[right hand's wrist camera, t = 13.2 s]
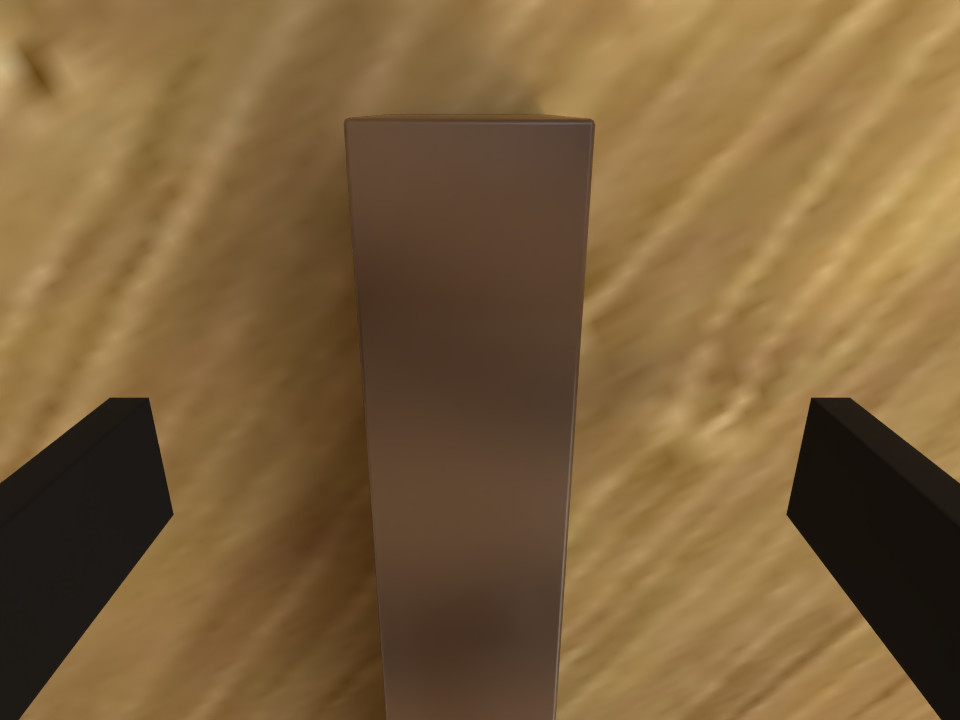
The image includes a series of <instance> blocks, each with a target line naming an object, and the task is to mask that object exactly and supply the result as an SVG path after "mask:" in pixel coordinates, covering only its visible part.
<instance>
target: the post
mask: <svg viewBox="0 0 960 720" xmlns="http://www.w3.org/2000/svg"><path fill="white" fill-rule="evenodd" d="M594 133H595V123H594V120H591V119H586V118H576V117H565V116H554V115H509V114H387V115H376V116H365V117H354V118H348V119H346V120H345V122H344V134H345V148H346V162H347V176H348V190H349V204H350V218H351V232H352V246H353V260H354V274H355V288H356V302H357V316H358V330H359V344H360V359H361V373H362V387H363V401H364V415H365V429H366V443H367V457H368V471H369V485H370V499H371V513H372V527H373V541H374V555H375V569H376V583H377V597H378V611H379V625H380V639H381V653H382V667H383V681H384V696H385V710H386V720H556V705H557V690H558V675H559V660H560V645H561V630H562V615H563V600H564V584H565V569H566V554H567V539H568V524H569V509H570V494H571V479H572V464H573V449H574V434H575V419H576V404H577V389H578V374H579V359H580V344H581V329H582V313H583V298H584V283H585V268H586V253H587V238H588V223H589V208H590V193H591V178H592V163H593V148H594Z"/></svg>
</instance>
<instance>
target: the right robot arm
mask: <svg viewBox="0 0 960 720" xmlns="http://www.w3.org/2000/svg"><path fill="white" fill-rule="evenodd" d="M172 516H173V510H172V505H171V501H170V496H169V491H168V486H167V482H166V477H165V472H164V468H163V463H162V458H161V453H160V449H159V444H158V439H157V435H156V430H155V425H154V420H153V416H152V411H151V406H150V402H149V398H109V399H108V400H106V401H105V402H104V403H103V404H101V405H100V406H99V407H98V408H96V409H95V410H94V411H92V412H91V413H90V414H89V415H87V416H86V417H85V418H83V419H82V420H81V421H80V422H78V423H77V424H76V425H74V426H73V427H72V428H71V429H69V430H68V431H67V432H66V433H64V434H63V435H62V436H60V437H59V438H58V439H57V440H55V441H54V442H53V443H51V444H50V445H49V446H48V447H46V448H45V449H44V450H42V451H41V452H40V453H39V454H37V455H36V456H35V457H34V458H32V459H31V460H30V461H28V462H27V463H26V464H25V465H23V466H22V467H21V468H19V469H18V470H17V471H16V472H14V473H13V474H12V475H10V476H9V477H8V478H7V479H5V480H4V481H3V482H1V483H0V720H19V719H20V717H21V716H22V715H23V713H24V712H25V711H26V709H27V708H28V707H29V705H30V704H31V703H32V701H33V700H34V699H35V697H36V696H37V695H38V693H39V692H40V691H41V689H42V688H43V687H44V685H45V684H46V683H47V681H48V680H49V679H50V678H51V676H52V675H53V674H54V672H55V671H56V670H57V668H58V667H59V666H60V664H61V663H62V662H63V660H64V659H65V658H66V656H67V655H68V654H69V652H70V651H71V650H72V648H73V647H74V646H75V644H76V643H77V642H78V640H79V639H80V638H81V636H82V635H83V634H84V632H85V631H86V630H87V629H88V627H89V626H90V625H91V623H92V622H93V621H94V619H95V618H96V617H97V615H98V614H99V613H100V611H101V610H102V609H103V607H104V606H105V605H106V603H107V602H108V601H109V599H110V598H111V597H112V595H113V594H114V593H115V591H116V590H117V589H118V587H119V586H120V585H121V583H122V582H123V581H124V580H125V578H126V577H127V576H128V574H129V573H130V572H131V570H132V569H133V568H134V566H135V565H136V564H137V562H138V561H139V560H140V558H141V557H142V556H143V554H144V553H145V552H146V550H147V549H148V548H149V546H150V545H151V544H152V542H153V541H154V540H155V538H156V537H157V536H158V534H159V533H160V532H161V531H162V529H163V528H164V527H165V525H166V524H167V523H168V521H169V520H170V519H171V517H172ZM787 516H788V517H789V519H790V520H791V521H792V523H793V524H794V525H795V527H796V528H797V529H798V531H799V532H800V533H801V534H802V536H803V537H804V538H805V540H806V541H807V542H808V544H809V545H810V546H811V548H812V549H813V550H814V552H815V553H816V554H817V556H818V557H819V558H820V560H821V561H822V562H823V564H824V565H825V566H826V568H827V569H828V570H829V572H830V573H831V574H832V576H833V577H834V578H835V580H836V581H837V582H838V583H839V585H840V586H841V587H842V589H843V590H844V591H845V593H846V594H847V595H848V597H849V598H850V599H851V601H852V602H853V603H854V605H855V606H856V607H857V609H858V610H859V611H860V613H861V614H862V615H863V617H864V618H865V619H866V621H867V622H868V623H869V625H870V626H871V627H872V629H873V630H874V631H875V632H876V634H877V635H878V636H879V638H880V639H881V640H882V642H883V643H884V644H885V646H886V647H887V648H888V650H889V651H890V652H891V654H892V655H893V656H894V658H895V659H896V660H897V662H898V663H899V664H900V666H901V667H902V668H903V670H904V671H905V672H906V674H907V675H908V676H909V677H910V679H911V680H912V681H913V683H914V684H915V685H916V687H917V688H918V689H919V691H920V692H921V693H922V695H923V696H924V697H925V699H926V700H927V701H928V703H929V704H930V705H931V707H932V708H933V709H934V711H935V712H936V713H937V715H938V716H939V717H940V719H941V720H960V483H959V482H957V481H956V480H955V479H953V478H952V477H951V476H950V475H948V474H947V473H946V472H944V471H943V470H942V469H941V468H939V467H938V466H937V465H935V464H934V463H933V462H932V461H930V460H929V459H928V458H926V457H925V456H924V455H923V454H921V453H920V452H919V451H918V450H916V449H915V448H914V447H912V446H911V445H910V444H909V443H907V442H906V441H905V440H903V439H902V438H901V437H900V436H898V435H897V434H896V433H894V432H893V431H892V430H891V429H889V428H888V427H887V426H886V425H884V424H883V423H882V422H880V421H879V420H878V419H877V418H875V417H874V416H873V415H871V414H870V413H869V412H868V411H866V410H865V409H864V408H862V407H861V406H860V405H859V404H857V403H856V402H855V401H854V400H852V399H851V398H811V402H810V406H809V411H808V416H807V420H806V425H805V430H804V435H803V439H802V444H801V449H800V453H799V458H798V463H797V468H796V472H795V477H794V482H793V486H792V491H791V496H790V501H789V505H788V510H787Z"/></svg>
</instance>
